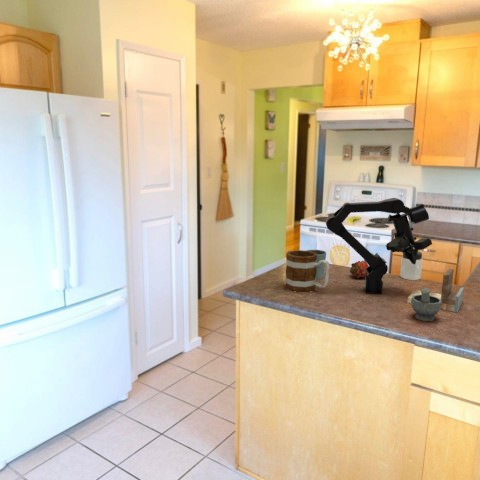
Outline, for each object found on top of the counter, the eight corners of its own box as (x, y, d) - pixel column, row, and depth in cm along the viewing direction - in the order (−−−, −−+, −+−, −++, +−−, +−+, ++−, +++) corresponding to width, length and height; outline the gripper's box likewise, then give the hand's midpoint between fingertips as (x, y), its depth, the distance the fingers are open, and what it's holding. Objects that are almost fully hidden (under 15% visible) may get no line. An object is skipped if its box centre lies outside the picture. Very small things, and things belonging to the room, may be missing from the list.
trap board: (407, 302, 166) (407, 297, 166) (414, 294, 176) (415, 289, 176) (454, 311, 157) (454, 306, 157) (459, 302, 167) (459, 297, 167)
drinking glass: (328, 276, 202) (329, 251, 199) (320, 281, 193) (321, 255, 191) (308, 272, 207) (309, 248, 205) (299, 278, 199) (300, 252, 196)
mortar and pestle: (413, 311, 158) (415, 279, 156) (441, 315, 153) (444, 283, 151) (407, 321, 148) (410, 287, 146) (437, 326, 144) (440, 292, 141)
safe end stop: (454, 311, 157) (455, 296, 156) (459, 302, 167) (461, 287, 166) (457, 312, 156) (458, 296, 155) (462, 302, 167) (464, 287, 166)
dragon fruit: (353, 283, 196) (361, 281, 206) (369, 275, 192) (377, 272, 202) (344, 267, 198) (352, 265, 208) (360, 258, 194) (368, 256, 204)
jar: (412, 281, 194) (414, 255, 192) (396, 277, 201) (398, 251, 198) (424, 278, 199) (426, 252, 197) (408, 274, 206) (410, 249, 203)
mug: (278, 288, 183) (279, 254, 180) (295, 281, 193) (296, 248, 190) (320, 298, 171) (321, 261, 168) (335, 290, 181) (337, 255, 178)
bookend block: (440, 302, 161) (443, 274, 158) (445, 295, 169) (448, 268, 166) (455, 305, 158) (458, 276, 156) (459, 298, 166) (462, 270, 164)
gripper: (372, 236, 178) (383, 271, 180) (408, 234, 161) (420, 272, 164) (390, 226, 183) (401, 260, 185) (427, 223, 166) (438, 260, 168)
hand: (414, 263), depth 175 cm, fingers closed
